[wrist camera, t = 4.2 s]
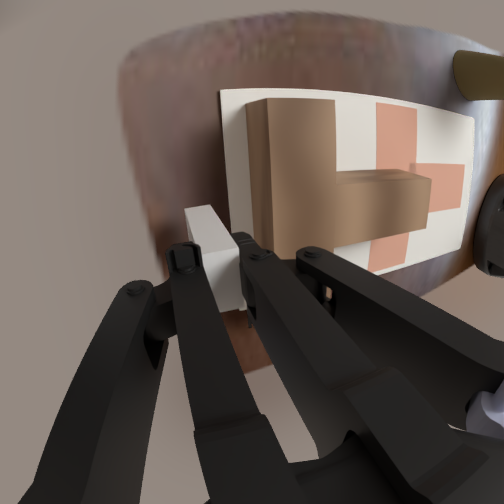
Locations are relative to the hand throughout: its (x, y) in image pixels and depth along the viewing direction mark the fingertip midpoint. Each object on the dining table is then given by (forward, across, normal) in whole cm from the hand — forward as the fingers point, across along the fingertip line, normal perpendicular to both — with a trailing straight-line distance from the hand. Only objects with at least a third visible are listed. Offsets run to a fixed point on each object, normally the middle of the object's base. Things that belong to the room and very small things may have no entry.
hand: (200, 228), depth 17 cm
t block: (+2, -10, 0) cm, 11 cm away
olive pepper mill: (+3, -29, -13) cm, 32 cm away
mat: (+2, -16, 0) cm, 16 cm away
